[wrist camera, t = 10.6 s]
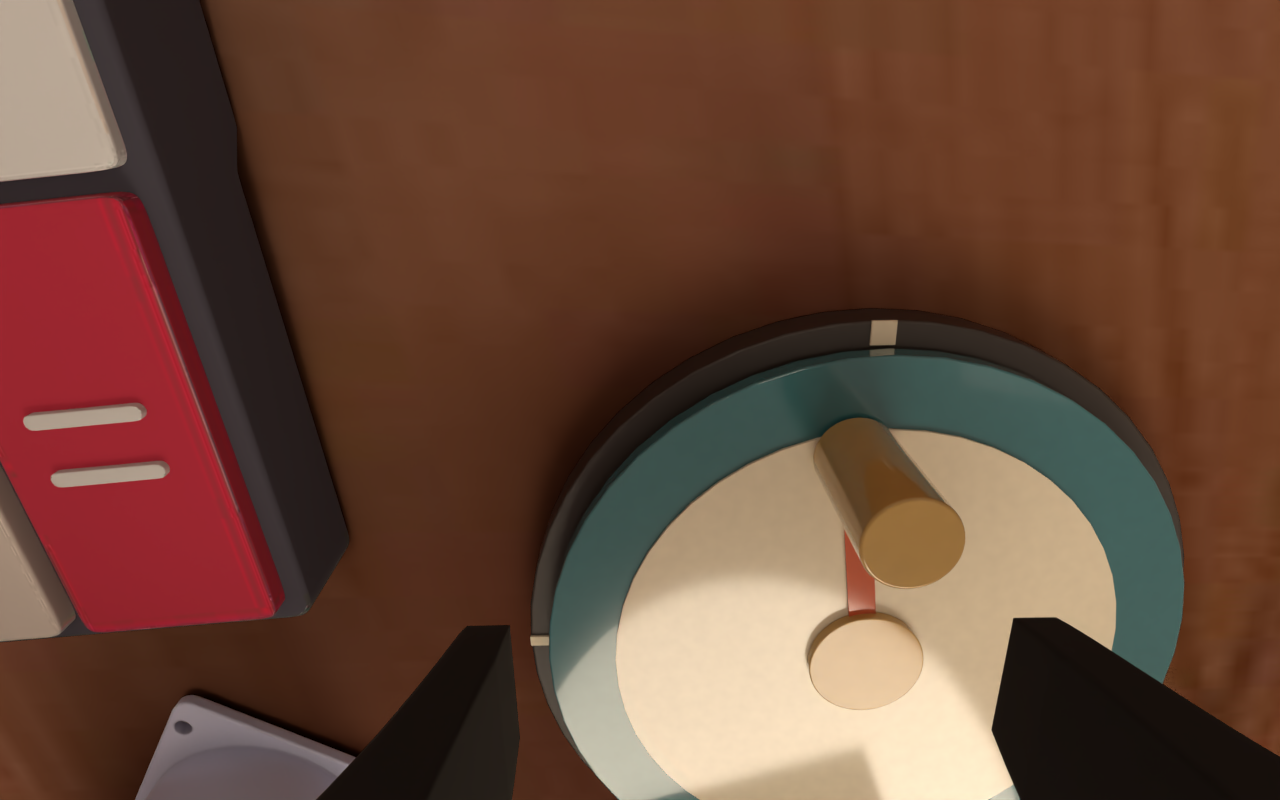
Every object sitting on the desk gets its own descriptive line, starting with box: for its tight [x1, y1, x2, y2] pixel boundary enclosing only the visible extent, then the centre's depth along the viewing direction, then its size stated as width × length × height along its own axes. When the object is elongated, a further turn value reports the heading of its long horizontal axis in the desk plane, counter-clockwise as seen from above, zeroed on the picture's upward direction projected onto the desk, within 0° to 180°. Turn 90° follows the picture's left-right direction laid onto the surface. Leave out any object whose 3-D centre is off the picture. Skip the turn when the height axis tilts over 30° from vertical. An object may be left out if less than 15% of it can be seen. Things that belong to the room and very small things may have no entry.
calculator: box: [0, 0, 349, 642], centre depth 17 cm, size 11×4×15 cm
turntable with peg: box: [549, 349, 1184, 800], centre depth 18 cm, size 17×17×5 cm
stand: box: [530, 308, 1184, 773], centre depth 21 cm, size 18×18×1 cm
